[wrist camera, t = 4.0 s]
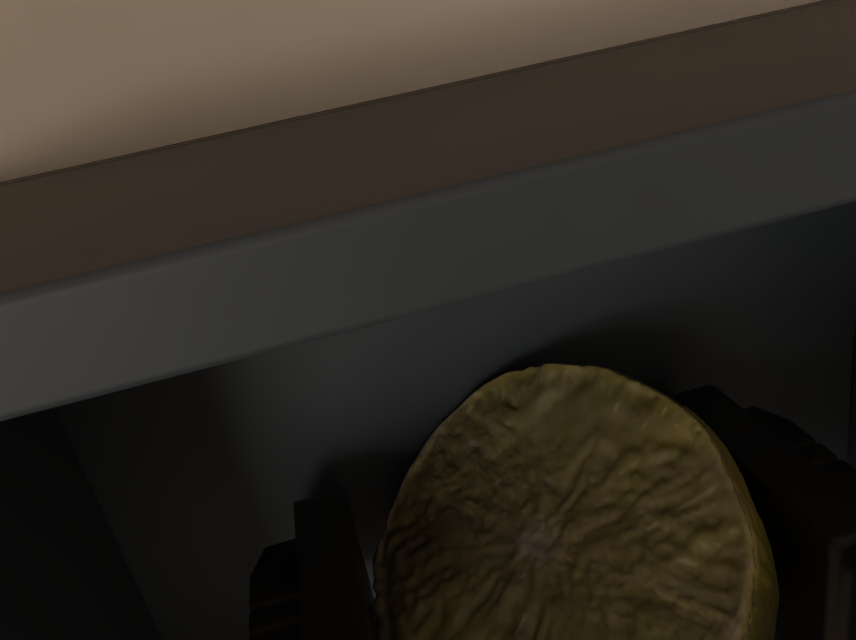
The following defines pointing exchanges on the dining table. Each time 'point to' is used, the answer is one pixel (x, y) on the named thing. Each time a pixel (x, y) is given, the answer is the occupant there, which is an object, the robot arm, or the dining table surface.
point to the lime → (574, 521)
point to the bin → (404, 300)
